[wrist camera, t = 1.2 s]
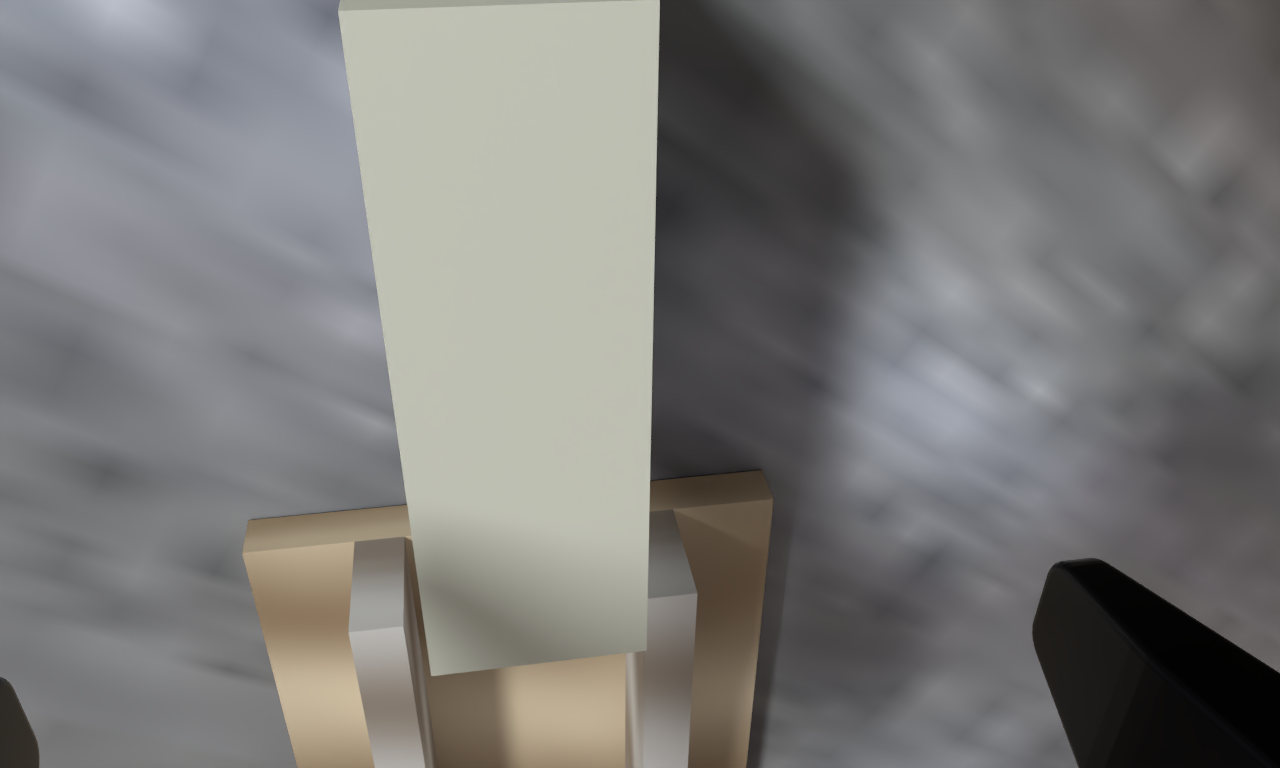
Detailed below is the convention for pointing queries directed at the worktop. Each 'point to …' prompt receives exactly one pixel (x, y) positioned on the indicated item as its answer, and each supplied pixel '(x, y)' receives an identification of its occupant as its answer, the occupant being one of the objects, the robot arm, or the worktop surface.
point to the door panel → (516, 310)
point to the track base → (520, 695)
